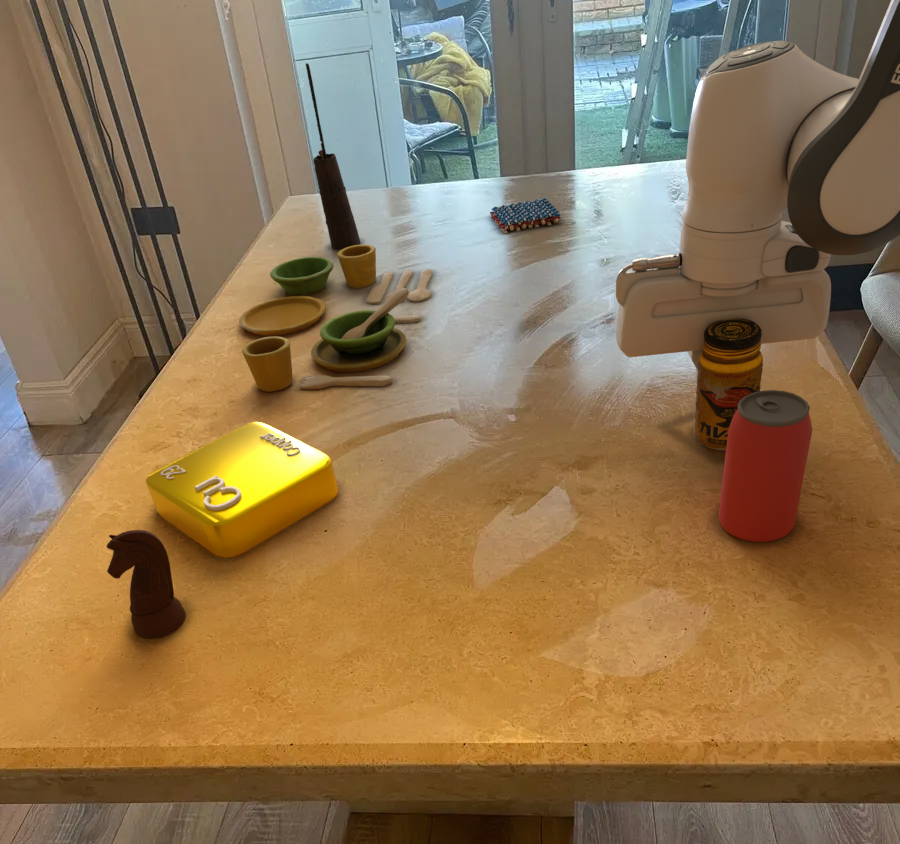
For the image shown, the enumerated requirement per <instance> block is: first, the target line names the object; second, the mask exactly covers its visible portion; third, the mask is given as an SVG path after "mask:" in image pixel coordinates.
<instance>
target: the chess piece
mask: <svg viewBox="0 0 900 844" xmlns="http://www.w3.org/2000/svg"><path fill="white" fill-rule="evenodd" d="M108 538H111V540H110V541H108V543H107V544H106V548H107V550H110V551H112V556H111V559H110V562H109V565H108V568H107V570H106V573H108V574H109V575H110V576H111V577H112V578H114V579H118V580H119V579H120V578H121V577H122V576H123V574H124V573H126V572H127V571H129V570H130V569H133V570H132V574H131V579H130V585H129V600H130V602H129V603H130V606H129V612H130V613H131V616H130V617H131V618H130V619H131V620H130V621H131V624H132V626H133V627H132V628H133V630H134V632H135V634H136V635H137V637H139V638H141V639H145V640H157V639H162V638H165V637H167V636H169V635H171V634H173V633H174V632H176V631H177V630H179V629H180V628H181V627H182V625H183V624H184V623H185V621H186V617H187V613H186V610H185V608H184V606H183V605H182V603H181V601H179V599H178V598H177V597H175V592H174V584H173V579H172V578H173V577H172V571H171V563H170V559H169V555H168V551H167V550H166V547H165V545H164V543H163V542H162V541H161V539H160V538H159V537H158V536H157V535H156V534H154V533H152V532H151V531H148V530H143V529H133V530H127V531H123V532H121V533H119V534H117V535H116V534H109V535H108Z"/></svg>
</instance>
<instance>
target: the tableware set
mask: <svg viewBox="0 0 900 844" xmlns="http://www.w3.org/2000/svg"><path fill="white" fill-rule="evenodd" d="M336 256H337V259H338V262H339V264H340V267H341V270H342V272H343V276H344V279H345V281H346V284H347V286H348V287H349V288H357V289H359V288H360V289H361V288H366V287H369V286H371V285H373V284H375V283H376V281H377V252H376V247H375V246H374V245H372V244H359V245H354V246H350V247H346V248H344V249H342V250H338V252H337V254H336ZM334 266H335V265H334V262H333V261H332V260H331V259H330V258H327V257H323V256H305V257H298V258H294V259H290V260H288V261H284V262H282V263H280V264H277V265H276V266H275V267H273V268H272V270H271V271H270V272H269V275H270V278H271V279H272V280H273V281H274V282H276V283H278V285H280V287H282V289H283V290H284V291H285V292H286V293H287V294H289V295H292V296H283V297H277V298H272V299H269V300H266V301H263V302H260V303H258V304H255V305H253V306H252V307H250V308H248V309H246V310H245V311H244V312H243V313H242V314H241V315H240V317H239V320H238V321H239V326H241V328H243V329H244V330H246V331H247V332H249V333H251V334H254V335H257V336H263V337H261V338H258V339H255V340H252V341H250V342H248V343H246V344H245V345H244V346H243V348H242V350H241V353H242V355H243V357H244V359H245V361H246V364H247V366H248V369H249V370H250V374H251V375H252V378H253V379H254V382H255V385H256V386H257V387H258V389H259V390H261V391H263V392H271V393H272V392H278V391H280V390H284V389H286V388H288V387H289V386H290V385H291V384H292V383H293V380H294V379H293V378H294V377H293V363H292V351H291V341H289V339H288V338H285V337H282V336H284V335H285V336H286V335H290V334H294V333H298V332H300V331H302V330H305V329H308V328H309V327H312V326H313V325H315V324H316V323H317V322H318V321H319V320H320V319H321V318H322V316H323V315H324V313H325V311H326V307H327V306H326V304H325V302H324V301H322V300H321V299H319V298H317V297H315V296H314V297H313V296H307V295H310V294H314V293H317V292H320V291H321V290H323V289H324V288H325V287H326V285H327V282H328V279H329V276H330V273H331V272H333V269H334ZM413 275H414V271H413V270H404V271H403V272H402V274H401V276H400V278H399V281H398V283H397V285H396V287H395V290H393V291H390V292H388V293H387V295H386V292H387V291H388V288H389V286H390V284H391V281H392V279H393V277H394V273H393V271H392V272H391V271H387V272H385V273H383V275H382V278H381V282H380V284H378V285H375V286H374V287H372V288H371V290H370V292H369V294H368V295H367V298H366V299H365V301H366V303H367V304H369V305H379V304H381V303H382V302H383V299H384V297H385V300H384V303H383V304H381V305H380V306H379V307H378V308H377V309H376V310H373V309H365V310H364V309H363V310H356V311H351V312H346V313H343V314H339V315H336V316H335V317H332V318H331V319H329V320H327V321H326V322H325V323H324V324H323V325H321V327H320V330H319V335H320V338H321V339H319V340H318V341H317V342H316V343H315V344H314V345H313V346H312V348H311V350H310V355H311V358H312V359H313V361H314V362H316V363H317V364H318V365H320V366H322V367H323V368H325V369H326V370H329V371H331V372H339V373H358V372H359V373H360V372H365V371H369V370H373V369H376V368H379V367H382V366H384V365H386V364H388V363H390V362H392V361H393V360H394V359H396V358H397V357H398V356H399V355H400V353H401V351H403V350H404V348H405V346H406V344H407V336H406V334H405V333H404V332H403V331H401V330H400V329H398V328H396V327H395V325H396V324H412V323H414V324H415V323H418V322H421V316H420V315H398V316H393V315H392V314H390V312H391V311H392V310H393V309H395V308H396V307H397V306H398V305H400V304H401V303H403V302H404V301H405V299H407V300H408V301H409V302H414V303H416V302H418V303H419V302H424V301H427V300H429V299H430V298H431V297H432V291H431V290H430V289H428V288H427V287H428V285H429V283H430V280H431V278H432V276H433V269H429V268H428V269H427V268H426V269H423V270H421V271H420V275H419V279H418V284H417V287H416V288H415V289H414V290H411V291H410V292H409V290H408V288H406V287H407V285H408V283H409V282H410V280H411V279H412V277H413ZM392 384H393V378H392V377H391V375H362V376H361V375H359V376H338V377H336V376H335V377H334V376H330V375H326V374H322V375H321V374H320V375H312V376H306V377H305V378H304V380H303V381H302V384H301V385H300V386H299V389H300V390H322V389H325V388H329V387H335V386H337V387H338V386H340V387H385V386H388V385H392Z"/></svg>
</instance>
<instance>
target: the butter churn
mask: <svg viewBox="0 0 900 844" xmlns="http://www.w3.org/2000/svg"><path fill="white" fill-rule="evenodd" d="M305 70H306V74H307V79H308V84H309V88H310V94H311V100H312V104H313V109H314V113H315V115H314V116H315V118H316V124H317V125H316V127H317V129H318V134H319V141H320V142H321V143H320V147H321V149H320V150H319V151H317V152H318V155H316V156H315V157H313V160H312V161H313V164H314V172H315V176H316V182H317V186H318V190H319V191H318V192H319V193H318V194H319V196H320V199H321V204H322V209H323V213H324V217H325V225H326V227H327V232H328V236H329V241H330V247H331V249H332V250H334V251H335V250H336V251H337V250H338V251H340V250H342V249H344V248H346V247H350V246H354V245H361V238H360V235H359V230H358V227H357V223H356V221H355V217H354V214H353V211H352V207H351V205H350V200H349V198H348V193H347V189H346V186H345V184H344V180H343V177H342V173H341V169H340V166H339V163H338V160H337V156H336V154H335V153H327V151H326V146H325V141H324V137H323V136H324V135H323V132H322V126H321V122H320V116H319V110H318V104H317V99H316V94H315V89H314V87H315V86H314V83H313V78H312V72H311V68H310V64H309V63H308V62H307V63H305Z"/></svg>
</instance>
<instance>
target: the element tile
mask: <svg viewBox="0 0 900 844" xmlns="http://www.w3.org/2000/svg"><path fill="white" fill-rule="evenodd" d="M332 462H333V461H332V459H331V457H330V456H329V455H328V454H326V453H325V452H323V451H321V450H319V449H318V448H315V447H313V446H311V445H309V444H307V443H305V442H303V441H301V440H300V439H297V438H295V437H294V436H291V435H289V434H288V433H285V432H283V431H282V430H279V429H278V428H275V427H274V426H271V425H269V424H267V423H264V422H258V421H252V422H248V423H246V424H244V425H241V426H240V427H238V428H236V429H234V430H232V431H230V432H228V433H226V434H224V435H222V436H220V437H218V438H216V439H214V440H212V441H210V442H208V443H206V444H204V445H202V446H201V447H198V448H196V449H194V450H192V451H191V452H188V453H186V454H185V455H183V456H180V457H179V458H177V459H174V460H172V461H170V462H169V463H167V464H164V465H163V466H160V467H159V468H157V469H155V470H154V471H151V473H149V474H148V475H147V477H146V479H145V484H146V487H147V489H148V491H149V495H150V497H151V499H152V502H153V504H154V506H155V509H156V511H157V514H158V515H159V516H160V517H161V518H163V519H164V521H165V520H166V521H167V522H168V523H169V524H171V526H172V525H173V526H174V527H175V528H177V530H179V531H181V532H182V533H184V534H185V535H187V536H188V537H189V538H191V539H192V540H193V541H195V542H196V543H197V544H199V545H201V546H202V547H203V548H204V549H206V550H208V551H209V552H210V553H212V554H213V555H215V556H217V557H219V558H224V559H226V558H235V557H238V556H240V555H242V554H244V553H246V552H248V551H249V550H251V549H253V548H255V547H257V546H258V545H260V544H262V543H264V541H266V540H268V539H270V538H271V537H273V536H275V535H276V534H278V533H280V532H282V531H283V530H285V529H287V528H288V527H290V526H291V525H294V524H296V523H297V522H299V521H300V520H302V519H304V518H305V517H307V516H308V515H311V513H314V512H315V511H317V510H319V509H320V508H322V507H324V506H326V505H327V504H329V503H331V502H332V501H333V500H334V499H335V498H336V497H337V496H338V494H339V487H338V482H337V479H336V474H335V469H334V466H333V463H332Z"/></svg>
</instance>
